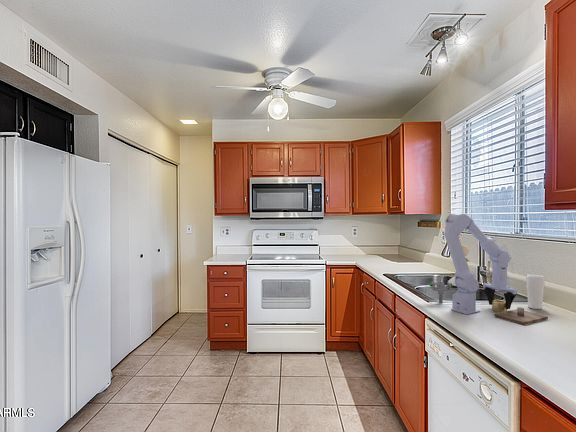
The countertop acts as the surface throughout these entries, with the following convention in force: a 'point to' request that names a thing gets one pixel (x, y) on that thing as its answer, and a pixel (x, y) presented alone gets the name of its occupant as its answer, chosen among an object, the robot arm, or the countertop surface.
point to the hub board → (521, 316)
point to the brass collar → (498, 305)
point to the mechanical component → (440, 289)
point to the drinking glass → (535, 290)
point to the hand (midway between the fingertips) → (499, 306)
